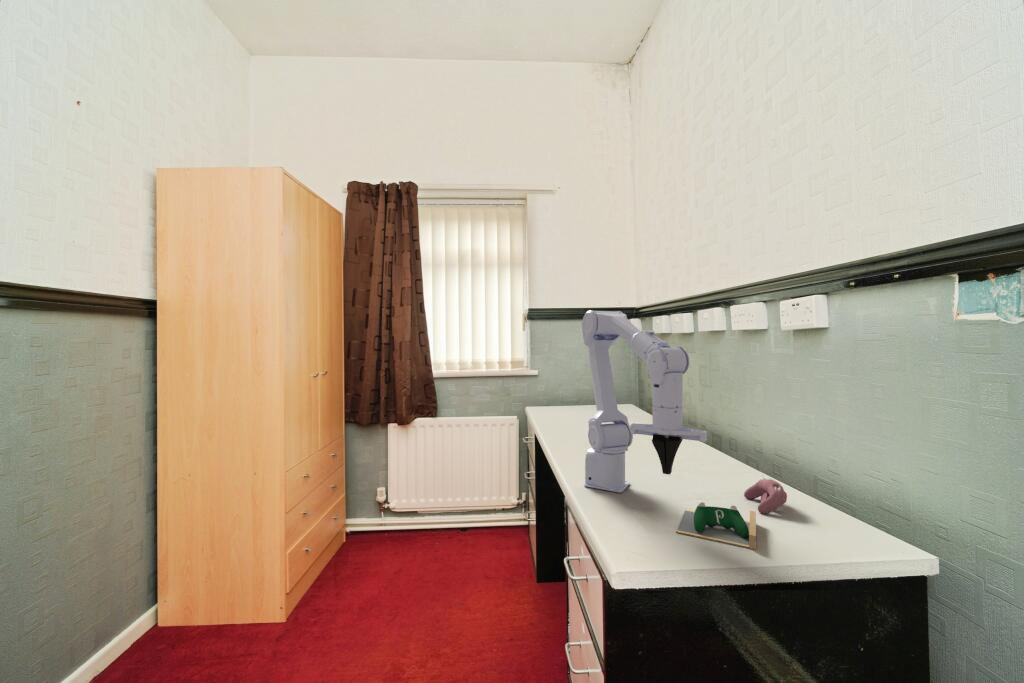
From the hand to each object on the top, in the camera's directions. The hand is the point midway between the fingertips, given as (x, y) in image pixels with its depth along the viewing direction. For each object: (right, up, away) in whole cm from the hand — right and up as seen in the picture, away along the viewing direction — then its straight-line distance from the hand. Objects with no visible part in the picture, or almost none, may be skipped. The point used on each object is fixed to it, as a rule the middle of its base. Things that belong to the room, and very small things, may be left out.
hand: (667, 472), depth 86 cm
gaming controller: (+8, -9, -6) cm, 13 cm away
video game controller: (+24, -10, +7) cm, 27 cm away
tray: (+8, -9, -4) cm, 13 cm away
